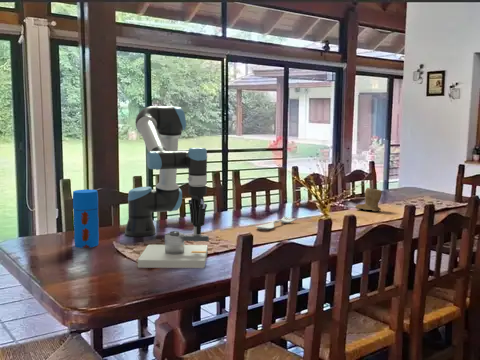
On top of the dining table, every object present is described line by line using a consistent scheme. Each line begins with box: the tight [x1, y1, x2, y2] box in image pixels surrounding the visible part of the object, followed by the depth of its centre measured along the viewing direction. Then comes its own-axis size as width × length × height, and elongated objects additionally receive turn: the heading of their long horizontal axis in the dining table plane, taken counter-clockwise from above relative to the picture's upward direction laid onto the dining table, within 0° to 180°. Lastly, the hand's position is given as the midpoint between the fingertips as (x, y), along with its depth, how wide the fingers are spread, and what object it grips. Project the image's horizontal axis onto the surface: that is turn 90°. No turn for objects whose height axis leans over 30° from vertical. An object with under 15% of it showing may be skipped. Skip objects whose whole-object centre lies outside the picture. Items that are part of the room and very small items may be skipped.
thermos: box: [72, 189, 100, 249], centre depth 224 cm, size 11×11×25 cm
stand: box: [137, 244, 209, 269], centre depth 204 cm, size 26×24×3 cm
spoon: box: [255, 215, 298, 231], centre depth 270 cm, size 9×32×4 cm, turn 143°
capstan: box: [164, 230, 209, 254], centre depth 203 cm, size 18×8×8 cm, turn 90°
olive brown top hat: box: [354, 187, 383, 212], centre depth 320 cm, size 15×12×15 cm
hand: (197, 241), depth 205 cm, fingers closed
